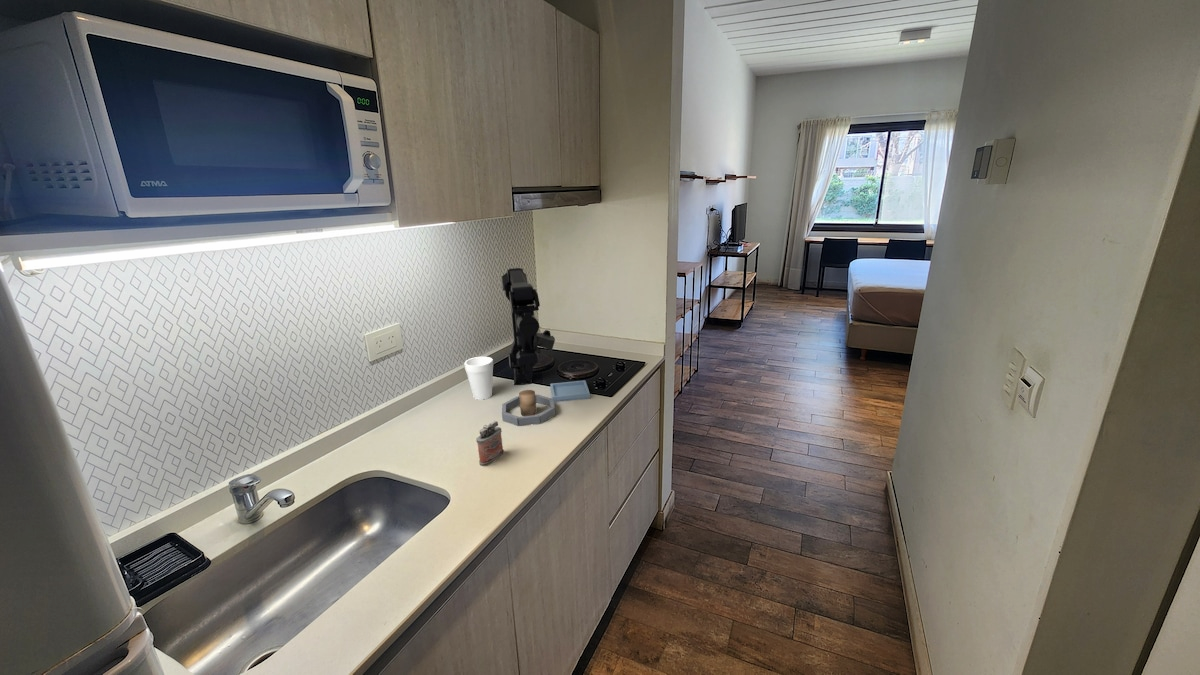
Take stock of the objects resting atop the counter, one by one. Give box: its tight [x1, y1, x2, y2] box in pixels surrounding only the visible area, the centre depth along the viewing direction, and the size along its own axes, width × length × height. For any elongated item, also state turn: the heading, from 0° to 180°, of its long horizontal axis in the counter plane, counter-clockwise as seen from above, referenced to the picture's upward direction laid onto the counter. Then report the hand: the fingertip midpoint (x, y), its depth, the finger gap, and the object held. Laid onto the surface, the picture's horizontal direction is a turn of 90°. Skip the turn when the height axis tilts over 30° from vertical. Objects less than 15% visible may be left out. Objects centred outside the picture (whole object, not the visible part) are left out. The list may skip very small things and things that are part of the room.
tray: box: [549, 380, 591, 403], centre depth 169 cm, size 12×13×2 cm
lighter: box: [475, 420, 505, 467], centre depth 130 cm, size 8×3×10 cm, turn 148°
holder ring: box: [501, 393, 556, 427], centre depth 156 cm, size 16×16×2 cm
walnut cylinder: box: [518, 389, 538, 417], centre depth 155 cm, size 5×5×7 cm
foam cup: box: [463, 356, 494, 401], centre depth 168 cm, size 10×9×13 cm
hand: (529, 375), depth 152 cm, fingers open, 9 cm apart
